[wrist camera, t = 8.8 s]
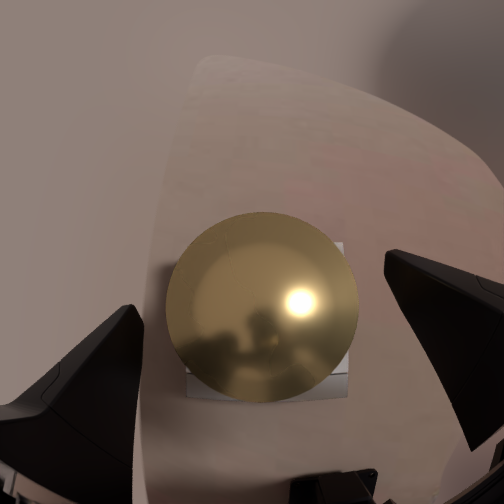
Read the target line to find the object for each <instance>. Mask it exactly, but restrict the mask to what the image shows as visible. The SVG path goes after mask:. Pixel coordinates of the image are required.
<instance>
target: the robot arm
mask: <svg viewBox="0 0 504 504" xmlns="http://www.w3.org/2000/svg"><path fill="white" fill-rule="evenodd" d="M384 276H385V279H386V281H387V283H388V285H389V287H390V289H391V291H392V293H393V295H394V297H395V299H396V301H397V303H398V305H399V307H400V309H401V311H402V312H403V314H404V316H405V318H406V319H407V321H408V323H409V324H410V326H411V328H412V329H413V331H414V333H415V334H416V336H417V338H418V340H419V341H420V343H421V345H422V347H423V349H424V350H425V352H426V354H427V356H428V358H429V360H430V362H431V363H432V365H433V367H434V369H435V371H436V373H437V375H438V377H439V379H440V381H441V383H442V385H443V387H444V389H445V391H446V393H447V396H448V398H449V400H450V402H451V403H452V407H453V409H454V411H455V413H456V416H457V418H458V420H459V423H460V425H461V428H462V430H463V432H464V435H465V438H466V440H467V443H468V445H469V448H470V450H471V452H472V451H474V450H475V449H477V448H478V447H479V446H481V445H482V444H483V443H485V442H486V441H487V440H488V439H490V438H491V437H492V436H493V435H494V434H496V433H497V432H498V431H499V430H501V429H502V428H503V427H504V284H501V283H497V282H494V281H492V280H489V279H486V278H483V277H480V276H477V275H476V276H475V275H474V274H471V273H469V272H466V271H463V270H460V269H457V268H454V267H451V266H448V265H445V264H442V263H439V262H436V261H433V260H430V259H427V258H424V257H420V256H417V255H414V254H411V253H408V252H404V251H401V250H398V249H394V250H390V251H387V252H386V254H385V262H384ZM143 339H144V323H143V321H142V319H141V317H140V315H139V313H138V311H137V309H136V307H135V306H134V305H132V304H129V305H124V306H122V307H120V308H119V309H118V310H117V311H116V312H115V313H114V314H112V315H111V316H110V317H109V318H108V319H107V320H105V321H104V322H103V323H102V324H101V325H100V326H98V327H97V328H96V329H95V330H94V331H93V332H91V333H90V334H89V335H88V336H87V337H86V338H85V339H84V340H82V341H81V342H80V343H79V344H78V345H77V346H76V347H75V348H74V349H72V350H71V351H70V352H69V353H68V354H67V355H66V356H65V357H63V359H61V361H60V362H58V363H57V364H56V365H55V366H54V367H53V368H51V369H50V370H49V371H48V372H47V373H46V374H45V375H44V376H43V377H41V378H40V379H39V380H38V381H37V382H36V383H34V384H33V385H32V386H31V387H30V388H28V389H27V390H26V391H25V392H24V393H22V394H21V395H20V396H19V397H18V398H17V399H15V400H14V401H12V402H11V403H9V404H6V405H0V504H132V473H133V470H132V468H133V445H134V432H135V419H136V409H137V400H138V392H139V384H140V376H141V369H142V359H143ZM371 473H373V474H372V475H371V476H369V475H370V474H371ZM377 476H378V472H377V471H376V470H375V469H367V470H362V471H357V472H354V471H351V472H345V473H338V474H330V475H322V476H320V477H311V478H297V479H294V480H292V481H291V482H290V490H289V502H288V504H376V503H375V502H374V500H373V499H372V498H373V494H374V490H375V485H376V481H377ZM297 483H299V484H300V485H298V486H295V484H297ZM383 504H396V503H395V502H394V501H393V500H391V499H389V500H387V501H386V502H385V503H383ZM444 504H504V439H502V440H501V441H500V442H499V443H498V444H497V445H496V449H495V453H494V456H493V460H492V463H491V467H490V470H489V472H488V473H487V474H486V475H485V476H483V477H482V478H480V479H479V480H478V481H476V482H475V483H474V484H472V485H471V486H470V487H468V488H467V489H465V490H464V491H462V492H461V493H459V494H458V495H457V496H455V497H453V498H452V499H450V500H449V501H447V502H445V503H444Z"/></svg>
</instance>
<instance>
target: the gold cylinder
mask: <svg viewBox="0 0 504 504" xmlns="http://www.w3.org/2000/svg"><path fill="white" fill-rule="evenodd" d="M358 310H359V301H358V292H357V287H356V283H355V279H354V276H353V273H352V271H351V269H350V266H349V264H348V262H347V261H346V259H345V257H344V255H343V254H342V253H341V251H340V250H339V249H338V247H337V246H336V245H335V244H334V243H333V242H332V241H331V240H330V239H329V238H328V237H327V236H326V235H325V234H323V233H322V232H321V231H320V230H318V229H317V228H315V227H313V226H312V225H310V224H308V223H306V222H304V221H302V220H300V219H297V218H294V217H291V216H288V215H284V214H278V213H269V212H257V213H247V214H242V215H238V216H234V217H231V218H229V219H226V220H224V221H221V222H219V223H217V224H215V225H214V226H212V227H211V228H209V229H207V230H206V231H204V232H203V233H202V234H201V235H200V236H198V237H197V238H196V239H195V240H194V241H193V242H192V243H191V244H190V245H189V246H188V248H187V249H186V250H185V252H184V253H183V254H182V256H181V257H180V259H179V261H178V263H177V264H176V266H175V268H174V271H173V273H172V276H171V278H170V282H169V286H168V289H167V296H166V320H167V327H168V331H169V334H170V338H171V341H172V343H173V345H174V348H175V350H176V352H177V353H178V355H179V357H180V358H181V360H182V362H183V363H184V364H185V365H186V367H187V368H188V369H189V370H190V372H191V373H192V374H193V375H195V376H196V377H197V378H198V379H199V380H200V381H201V382H203V383H204V384H205V385H207V386H208V387H210V388H211V389H213V390H215V391H217V392H219V393H221V394H223V395H226V396H228V397H231V398H234V399H238V400H243V401H248V402H260V403H261V402H275V401H280V400H285V399H289V398H292V397H295V396H298V395H300V394H302V393H304V392H306V391H308V390H310V389H312V388H313V387H315V386H316V385H318V384H319V383H321V382H322V381H323V380H324V379H326V378H327V377H328V376H329V375H330V374H331V373H332V372H333V371H334V370H335V368H336V367H337V366H338V365H339V364H340V362H341V361H342V359H343V358H344V356H345V355H346V353H347V351H348V349H349V347H350V345H351V342H352V340H353V337H354V334H355V330H356V327H357V321H358Z"/></svg>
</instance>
